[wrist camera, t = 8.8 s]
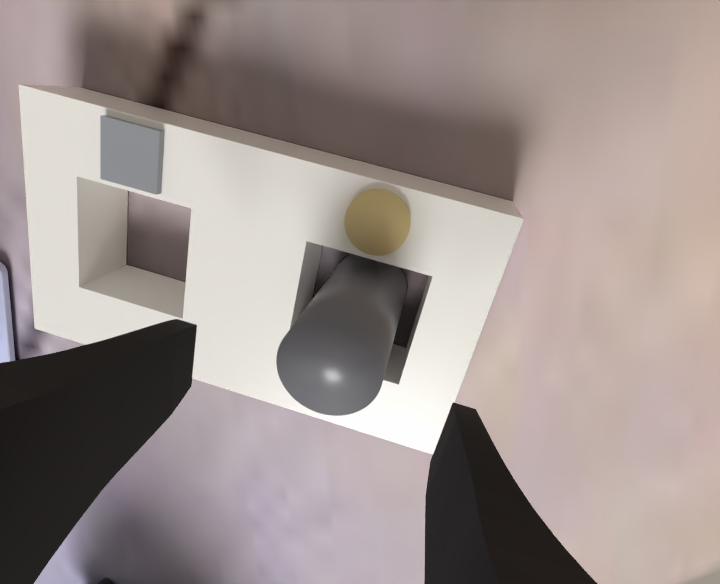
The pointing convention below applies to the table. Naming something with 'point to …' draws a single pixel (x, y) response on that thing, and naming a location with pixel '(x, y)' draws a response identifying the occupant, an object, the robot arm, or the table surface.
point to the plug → (344, 338)
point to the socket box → (251, 247)
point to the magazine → (105, 582)
